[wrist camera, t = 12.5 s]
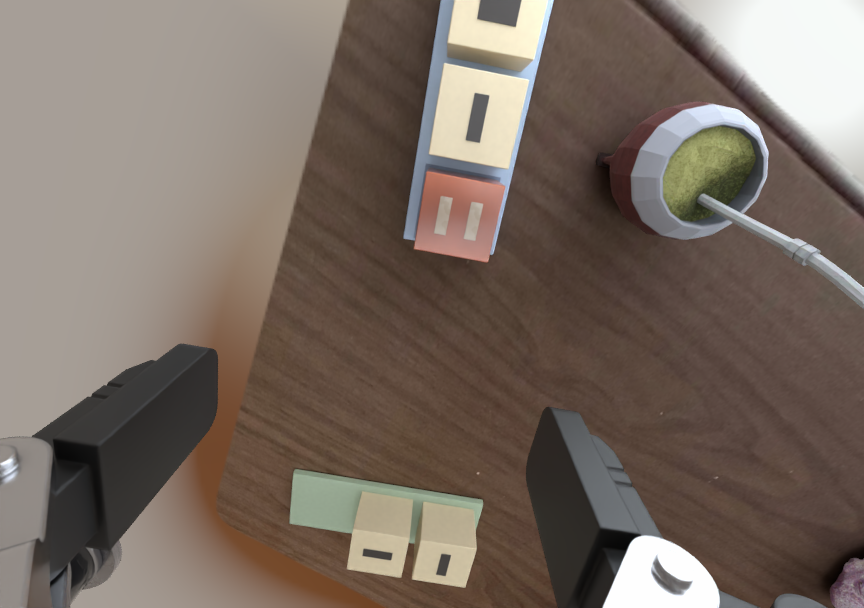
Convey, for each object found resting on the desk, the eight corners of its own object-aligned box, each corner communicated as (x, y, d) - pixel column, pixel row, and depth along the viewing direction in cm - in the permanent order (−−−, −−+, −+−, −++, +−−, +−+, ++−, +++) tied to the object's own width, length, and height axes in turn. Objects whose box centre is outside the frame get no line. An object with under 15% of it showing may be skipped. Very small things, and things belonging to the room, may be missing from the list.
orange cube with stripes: (429, 166, 28) (426, 171, 24) (498, 180, 28) (506, 186, 24) (417, 235, 30) (413, 249, 26) (482, 247, 30) (488, 263, 26)
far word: (291, 518, 40) (272, 564, 36) (295, 468, 38) (275, 510, 34) (469, 547, 41) (471, 595, 36) (482, 499, 39) (487, 545, 34)
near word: (492, 253, 31) (499, 271, 26) (403, 236, 30) (396, 252, 26) (556, -20, 25) (580, -54, 20) (447, -42, 25) (448, -82, 20)
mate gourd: (608, 99, 27) (785, 53, 13) (729, 124, 27) (1030, 107, 13) (572, 216, 30) (686, 285, 15) (682, 238, 30) (891, 326, 16)
